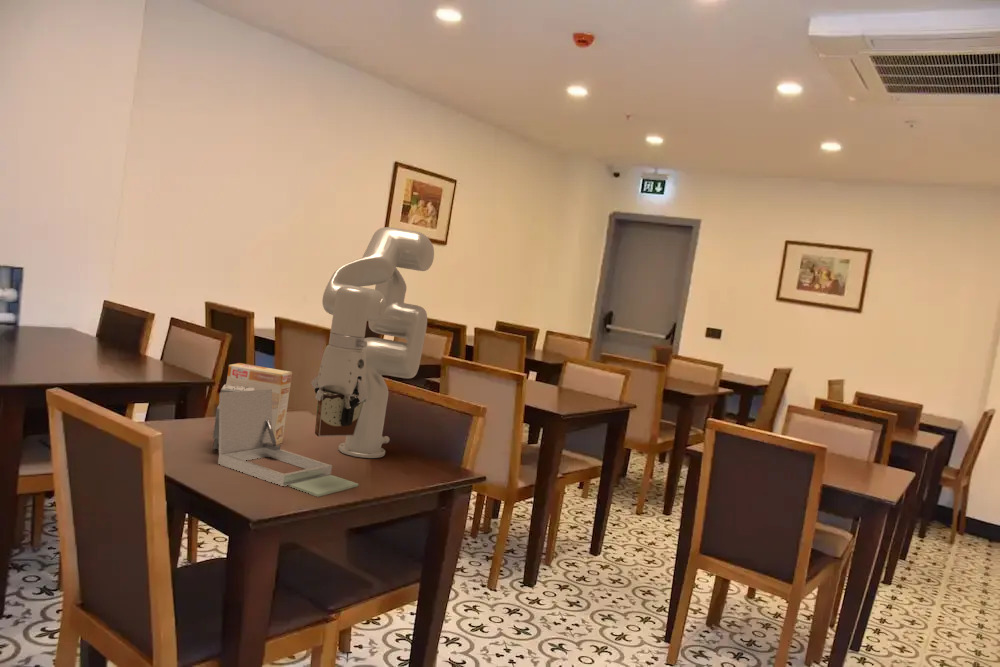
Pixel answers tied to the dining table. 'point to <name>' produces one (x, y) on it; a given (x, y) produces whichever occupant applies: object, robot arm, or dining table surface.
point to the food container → (333, 415)
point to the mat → (324, 485)
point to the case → (258, 439)
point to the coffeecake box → (263, 381)
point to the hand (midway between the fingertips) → (334, 421)
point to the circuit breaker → (216, 428)
